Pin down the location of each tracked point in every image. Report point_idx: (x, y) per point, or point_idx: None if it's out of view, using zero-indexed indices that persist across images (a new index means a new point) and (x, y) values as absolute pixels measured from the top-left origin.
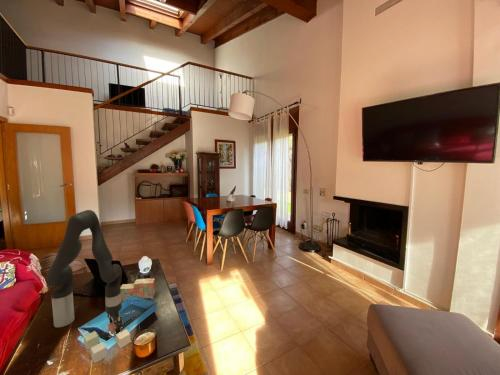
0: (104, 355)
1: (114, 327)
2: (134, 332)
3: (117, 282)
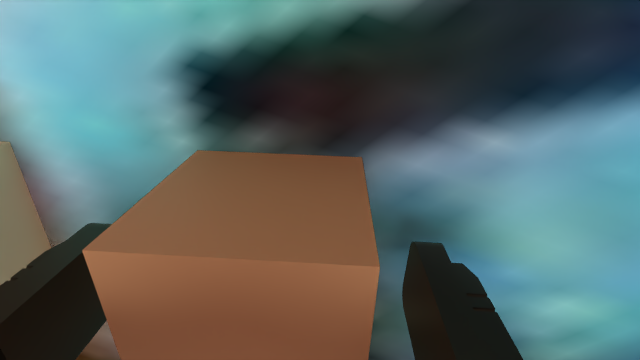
0: None
1: (106, 309)
2: (100, 346)
3: None
